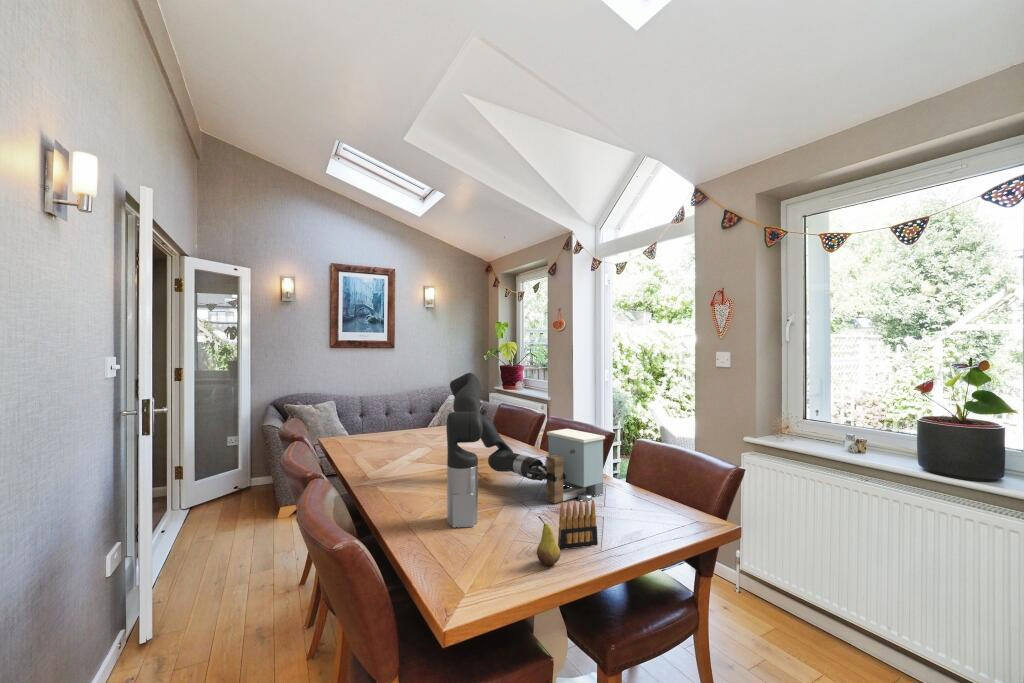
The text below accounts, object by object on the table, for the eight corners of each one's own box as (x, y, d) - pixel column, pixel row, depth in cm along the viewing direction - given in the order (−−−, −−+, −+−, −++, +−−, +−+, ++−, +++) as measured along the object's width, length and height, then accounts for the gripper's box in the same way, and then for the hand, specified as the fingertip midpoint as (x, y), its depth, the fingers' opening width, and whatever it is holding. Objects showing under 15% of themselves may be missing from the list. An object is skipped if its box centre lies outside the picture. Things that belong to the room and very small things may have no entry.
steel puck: (594, 501, 158) (594, 496, 158) (579, 502, 157) (579, 497, 157) (589, 496, 163) (589, 492, 163) (576, 497, 162) (576, 492, 162)
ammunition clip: (595, 542, 125) (594, 497, 125) (597, 545, 123) (597, 500, 124) (557, 546, 123) (557, 501, 123) (560, 549, 121) (560, 503, 121)
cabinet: (545, 488, 173) (545, 432, 173) (567, 482, 180) (567, 428, 180) (582, 501, 158) (582, 440, 158) (605, 494, 165) (605, 436, 165)
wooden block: (546, 500, 158) (546, 456, 158) (578, 491, 167) (578, 450, 167) (554, 503, 155) (554, 458, 155) (586, 494, 164) (586, 452, 164)
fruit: (558, 570, 109) (558, 520, 109) (534, 567, 111) (534, 517, 111) (562, 560, 115) (562, 511, 115) (539, 557, 116) (539, 509, 116)
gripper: (512, 459, 164) (545, 470, 151) (542, 453, 173) (575, 463, 160) (512, 480, 164) (545, 493, 151) (542, 473, 173) (575, 484, 160)
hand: (560, 477), depth 155 cm, fingers closed on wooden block, 4 cm apart
